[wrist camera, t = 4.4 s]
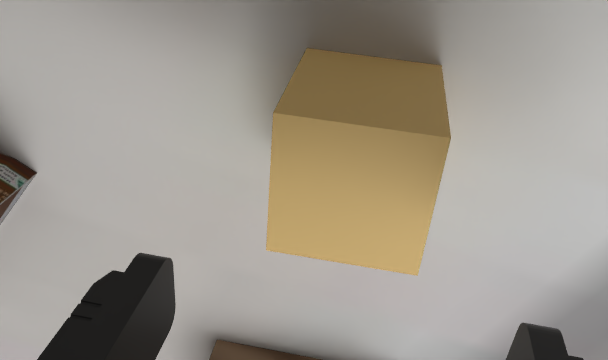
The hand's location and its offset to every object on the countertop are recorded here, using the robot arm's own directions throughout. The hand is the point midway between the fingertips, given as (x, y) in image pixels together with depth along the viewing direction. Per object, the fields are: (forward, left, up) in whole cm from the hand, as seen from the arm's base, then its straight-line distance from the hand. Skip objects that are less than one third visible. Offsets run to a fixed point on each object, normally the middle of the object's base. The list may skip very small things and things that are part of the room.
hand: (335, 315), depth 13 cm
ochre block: (0, 0, -11) cm, 11 cm away
